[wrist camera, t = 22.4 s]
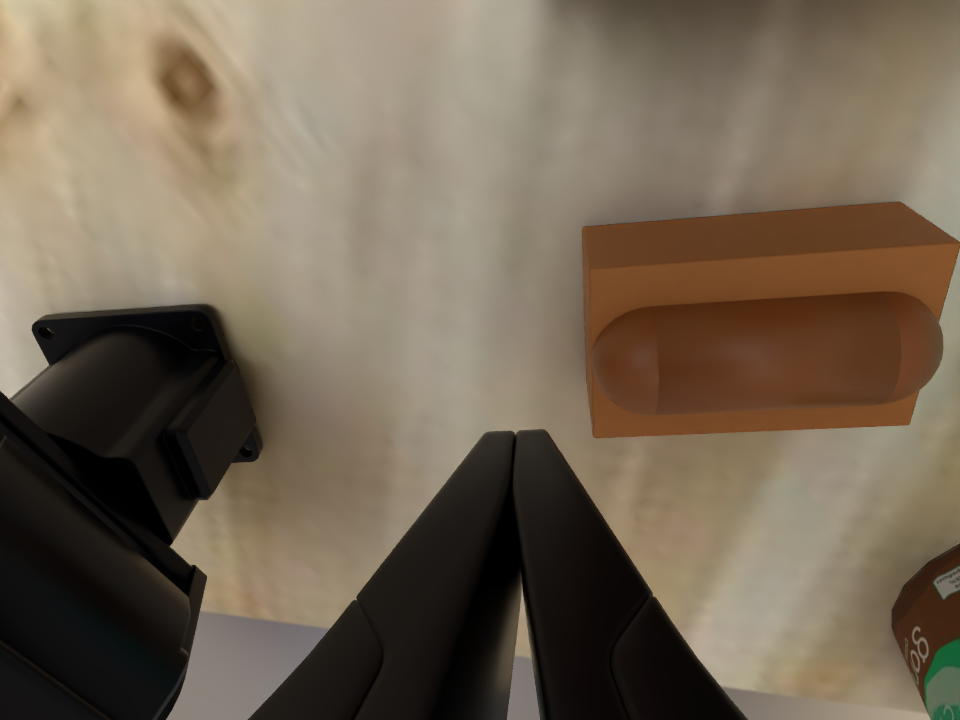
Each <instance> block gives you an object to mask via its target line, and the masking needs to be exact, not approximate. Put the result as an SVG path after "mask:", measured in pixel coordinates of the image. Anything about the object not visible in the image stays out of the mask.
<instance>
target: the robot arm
mask: <svg viewBox="0 0 960 720" xmlns="http://www.w3.org/2000/svg"><path fill="white" fill-rule="evenodd" d="M195 317H199V318H201V319H202V320H203V321H204V323H205V324H201V323H199V322H197V320H196V319H195ZM47 328H49V329H50V330H51V331H52V332H53V333H54V334H53V333H51V332H50V331H49V330H48V329H47ZM32 332H33V335H34V337H35V339H36V340H37V342H38V344H39V346H40V348H41V350H42V352H43V354H44V356H45V357H46V359H47V361H48V363H49V366H48V367H47V368H46V369H45V370H43V371H42V372H41V373H40V374H39V375H37V376H36V377H35V378H34V379H33V380H31V381H30V382H29V383H28V384H27V385H26V386H24V387H23V388H22V389H21V390H20V391H18V392H17V393H16V394H15V395H14V396H13V397H11V398H10V399H8V398H7V397H6V396H5V395H4V394H3V393H2V392H1V391H0V720H166V718H167V717H168V715H169V713H170V712H171V711H172V709H173V707H174V704H175V703H176V701H177V699H178V697H179V694H180V692H181V689H182V686H183V683H184V680H185V676H186V672H187V667H188V662H189V658H190V653H191V648H192V644H193V639H194V635H195V631H196V626H197V621H198V617H199V612H200V608H201V603H202V599H203V594H204V589H205V585H206V580H207V576H206V575H205V574H204V573H203V572H202V571H201V570H200V569H199V568H198V567H197V566H195V565H192V566H191V565H189V564H188V563H187V562H186V561H185V560H184V559H183V558H182V557H181V556H180V555H179V554H177V553H176V552H175V551H174V550H173V549H172V548H171V547H170V545H171V544H172V543H173V541H174V540H175V538H176V537H177V535H178V533H179V532H180V530H181V528H182V527H183V525H184V524H185V522H186V520H187V519H188V517H189V515H190V514H191V512H192V511H193V509H194V507H195V506H196V504H197V503H198V501H199V500H208V499H209V498H210V497H211V495H212V494H213V493H214V491H215V490H216V488H217V486H218V485H219V483H220V481H221V480H222V478H223V476H224V475H225V473H226V471H227V470H228V468H229V466H230V465H231V463H238V462H252V461H255V460H256V459H258V457H259V455H260V453H261V451H262V449H263V446H262V442H261V439H260V437H259V434H258V431H257V428H256V426H255V423H256V417H255V414H254V412H253V409H252V406H251V403H250V400H249V398H248V395H247V392H246V389H245V386H244V384H243V381H242V378H241V375H240V372H239V370H238V367H237V365H236V364H235V363H234V362H233V361H232V359H231V356H230V353H229V351H228V348H227V345H226V342H225V339H224V337H223V334H222V331H221V328H220V326H219V323H218V320H217V317H216V315H215V314H214V312H213V311H212V310H211V309H210V308H208V307H206V306H204V305H198V304H197V305H183V306H169V307H155V308H141V309H127V310H113V311H98V312H84V313H70V314H56V315H46V316H43V317H41V318H40V319H39V320H37V321H36V322H35V323H34V324H33V325H32ZM245 447H248V448H250V449H251V450H248V449H246V448H245ZM522 587H523V596H524V604H525V612H526V619H527V627H528V634H529V641H530V648H531V656H532V663H533V670H534V677H535V685H536V692H537V699H538V706H539V713H540V720H748V719H747V718H746V717H745V715H744V714H743V713H742V712H741V711H740V710H739V708H738V707H737V706H736V705H735V704H734V702H733V701H732V700H731V699H730V698H729V697H728V695H727V694H726V693H725V692H724V690H723V689H722V688H721V687H720V685H719V684H718V683H717V682H716V680H715V679H714V678H713V677H712V675H711V674H710V673H709V672H708V670H707V669H706V668H705V667H704V665H703V664H702V663H701V662H700V660H699V659H698V658H697V657H696V655H695V654H694V652H693V651H692V649H691V648H690V647H689V645H688V644H687V642H686V641H685V640H684V638H683V637H682V635H681V634H680V632H679V631H678V630H677V628H676V627H675V625H674V624H673V623H672V621H671V620H670V618H669V616H668V615H667V613H666V612H665V610H664V609H663V607H662V606H661V604H660V603H659V601H658V600H657V598H656V597H654V596H653V593H652V591H651V590H650V588H649V586H648V585H647V583H646V582H645V580H644V579H643V577H642V576H641V574H640V573H639V571H638V570H637V568H636V567H635V565H634V564H633V562H632V560H631V559H630V557H629V556H628V554H627V553H626V551H625V550H624V548H623V547H622V545H621V544H620V542H619V541H618V539H617V538H616V536H615V534H614V533H613V531H612V530H611V528H610V527H609V525H608V524H607V522H606V521H605V519H604V518H603V516H602V515H601V513H600V512H599V510H598V508H597V507H596V505H595V504H594V502H593V501H592V499H591V498H590V496H589V495H588V493H587V492H586V490H585V489H584V487H583V486H582V484H581V482H580V481H579V479H578V478H577V476H576V475H575V473H574V472H573V470H572V469H571V467H570V466H569V464H568V463H567V461H566V460H565V458H564V456H563V455H562V453H561V452H560V450H559V449H558V447H557V446H556V444H555V443H554V441H553V440H552V438H551V437H550V435H549V434H548V432H547V431H546V430H543V429H537V430H520V431H518V432H517V434H516V435H515V433H514V432H513V431H491V432H487V433H485V434H484V435H483V436H482V437H481V439H480V440H479V441H478V442H477V444H476V445H475V446H474V447H473V449H472V450H471V451H470V452H469V454H468V455H467V456H466V458H465V459H464V460H463V461H462V463H461V464H460V465H459V466H458V468H457V469H456V470H455V472H454V473H453V474H452V475H451V477H450V478H449V479H448V480H447V482H446V483H445V484H444V486H443V487H442V488H441V489H440V491H439V492H438V493H437V494H436V496H435V497H434V498H433V500H432V501H431V502H430V503H429V505H428V506H427V507H426V508H425V510H424V511H423V512H422V514H421V515H420V516H419V517H418V519H417V520H416V521H415V522H414V524H413V525H412V526H411V528H410V529H409V530H408V531H407V533H406V534H405V535H404V536H403V538H402V539H401V540H400V542H399V543H398V544H397V545H396V547H395V548H394V549H393V550H392V552H391V553H390V554H389V556H388V557H387V558H386V559H385V561H384V562H383V563H382V564H381V566H380V567H379V568H378V569H377V571H376V572H375V573H374V575H373V576H372V577H371V578H370V580H369V581H368V582H367V583H366V585H365V586H364V587H363V589H362V590H361V591H360V592H359V594H358V595H357V600H353V601H352V602H351V603H350V605H349V606H348V607H347V609H346V610H345V611H344V612H343V614H342V615H341V616H340V617H339V619H338V620H337V621H336V622H335V624H334V625H333V626H332V627H331V628H330V630H329V631H328V632H327V633H326V634H325V636H324V637H323V638H322V639H321V640H320V642H319V643H318V644H317V645H316V647H315V648H314V649H313V650H312V651H311V653H310V654H309V655H308V656H307V657H306V658H305V659H304V661H303V662H302V663H301V664H300V665H299V666H298V667H297V668H296V669H295V670H294V671H293V672H292V673H291V675H290V676H289V677H288V678H287V679H286V680H285V681H284V682H283V683H282V685H280V687H279V688H278V689H277V690H276V691H275V692H274V693H273V694H272V695H271V696H270V697H269V698H268V699H267V700H266V701H265V702H264V703H263V704H262V706H261V707H260V708H259V709H258V710H257V711H256V712H255V713H254V714H253V715H252V716H251V717H250V718H249V719H248V720H507V711H508V704H509V695H510V687H511V679H512V670H513V662H514V654H515V645H516V637H517V629H518V620H519V612H520V602H521V591H522Z"/></svg>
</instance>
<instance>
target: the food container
mask: <svg viewBox="0 0 960 720" xmlns="http://www.w3.org/2000/svg"><path fill="white" fill-rule="evenodd" d="M892 629H893V632H894V635H895V638H896V640H897V643H898V645H899V647H900V650H901V652H902V654H903V656H904V659H905V661H906V663H907V666H908V668H909V670H910V673H911V675H912V677H913V679H914V682H915V684H916V686H917V689H918V691H919V693H920V696H921V698H922V700H923V702H924V705H925V707H926V709H927V712H928V714H929V716H930V718H931V720H960V545H958V546H957V547H955V548H953V549H951V550H950V551H948V552H946V553H945V554H943V555H941V556H939V557H938V558H936V559H934V560H933V561H931V562H929V563H928V564H927V565H926V566H925V567H924V568H923V569H922V570H921V571H920V572H919V573H918V574H916V575H915V576H914V577H913V578H912V579H911V580H910V581H909V582H908V583H907V584H906V585H905V586H904V588H903V589H902V591H901V593H900V595H899V597H898V599H897V601H896V603H895V605H894V607H893V609H892Z"/></svg>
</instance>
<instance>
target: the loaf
mask: <svg viewBox="0 0 960 720" xmlns="http://www.w3.org/2000/svg"><path fill="white" fill-rule="evenodd" d="M959 249H960V242H959V241H957V240H956V239H955V238H953V237H952V236H950V235H949V234H947V233H946V232H944V231H943V230H941V229H940V228H938V227H937V226H935V225H934V224H932V223H931V222H929V221H928V220H927V219H925V218H924V217H922V216H921V215H919V214H918V213H916V212H915V211H913V210H912V209H910V208H909V207H907V206H906V205H904V204H903V203H901V202H889V203H876V204H864V205H851V206H838V207H826V208H813V209H801V210H788V211H776V212H763V213H751V214H738V215H725V216H713V217H700V218H688V219H675V220H663V221H650V222H638V223H625V224H612V225H600V226H587V227H583V228H582V254H583V286H584V317H585V349H586V380H587V389H588V397H589V406H590V414H591V422H592V431H593V436H594V438H612V437H636V436H660V435H683V434H707V433H731V432H755V431H779V430H803V429H827V428H851V427H875V426H899V425H909V424H910V422H911V418H912V414H913V411H914V407H915V404H916V400H917V397H918V393H919V390H920V389H921V388H922V387H923V386H924V385H926V384H927V383H928V382H929V381H930V379H931V378H932V377H933V375H934V374H935V372H936V370H937V368H938V367H939V365H940V362H941V359H942V354H943V336H942V331H941V327H940V325H939V319H940V316H941V312H942V309H943V305H944V302H945V298H946V295H947V291H948V288H949V284H950V281H951V277H952V274H953V270H954V267H955V263H956V259H957V256H958V252H959Z"/></svg>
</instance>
